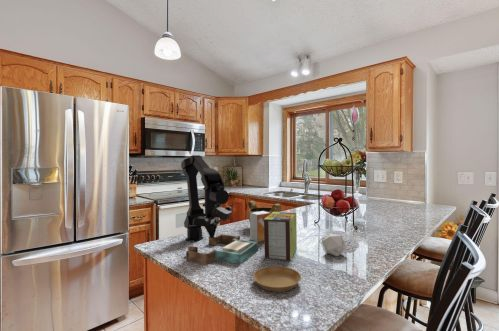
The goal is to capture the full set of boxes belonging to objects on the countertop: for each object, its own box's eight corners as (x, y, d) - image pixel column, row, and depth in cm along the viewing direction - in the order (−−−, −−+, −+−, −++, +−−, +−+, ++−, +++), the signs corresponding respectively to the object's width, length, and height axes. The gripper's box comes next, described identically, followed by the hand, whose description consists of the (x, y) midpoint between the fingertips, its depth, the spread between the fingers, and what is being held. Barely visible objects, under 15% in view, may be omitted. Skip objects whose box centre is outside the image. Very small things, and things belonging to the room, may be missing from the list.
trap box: (180, 259, 103) (180, 250, 102) (215, 240, 126) (215, 233, 126) (234, 269, 92) (234, 259, 92) (262, 246, 116) (262, 239, 116)
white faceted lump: (327, 260, 101) (343, 241, 99) (314, 243, 108) (329, 226, 106) (338, 262, 106) (354, 245, 104) (325, 246, 113) (339, 230, 111)
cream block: (222, 257, 105) (222, 247, 105) (236, 249, 114) (235, 240, 114) (237, 260, 101) (237, 250, 101) (250, 252, 110) (250, 243, 110)
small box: (257, 242, 122) (257, 214, 122) (249, 239, 128) (249, 212, 127) (271, 239, 127) (270, 212, 127) (263, 236, 132) (263, 210, 132)
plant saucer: (282, 301, 71) (282, 292, 71) (243, 284, 81) (243, 276, 81) (310, 282, 82) (310, 274, 82) (272, 269, 92) (272, 262, 92)
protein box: (296, 248, 114) (296, 212, 114) (290, 261, 99) (290, 220, 99) (273, 246, 117) (272, 211, 117) (263, 258, 103) (263, 218, 102)
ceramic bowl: (288, 229, 145) (288, 202, 145) (268, 235, 133) (267, 206, 133) (259, 223, 161) (259, 198, 161) (238, 228, 149) (238, 201, 149)
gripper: (216, 205, 99) (216, 247, 100) (238, 199, 116) (239, 234, 117) (191, 204, 104) (192, 243, 104) (216, 197, 121) (217, 231, 121)
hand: (212, 237), depth 111 cm, fingers closed
